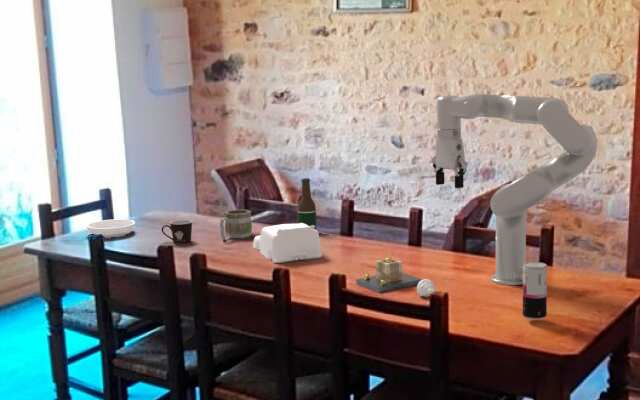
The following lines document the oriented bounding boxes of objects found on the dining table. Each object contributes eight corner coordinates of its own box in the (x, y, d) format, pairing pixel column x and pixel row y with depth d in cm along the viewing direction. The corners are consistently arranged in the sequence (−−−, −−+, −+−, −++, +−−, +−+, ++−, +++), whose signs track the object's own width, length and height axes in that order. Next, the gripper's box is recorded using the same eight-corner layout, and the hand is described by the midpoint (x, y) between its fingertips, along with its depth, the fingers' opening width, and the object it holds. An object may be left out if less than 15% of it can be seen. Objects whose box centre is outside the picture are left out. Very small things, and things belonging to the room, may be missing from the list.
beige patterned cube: (402, 279, 294) (401, 261, 293) (387, 282, 291) (386, 264, 290) (391, 275, 299) (391, 258, 298) (376, 278, 296) (376, 260, 295)
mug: (237, 237, 375) (236, 208, 372) (258, 239, 368) (256, 210, 366) (211, 244, 362) (210, 215, 360) (232, 247, 356) (230, 217, 354)
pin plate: (422, 283, 294) (422, 258, 292) (379, 292, 285) (378, 266, 284) (398, 275, 305) (398, 250, 303) (356, 284, 296) (355, 258, 295)
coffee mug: (198, 245, 361) (196, 221, 359) (183, 250, 354) (182, 225, 352) (175, 243, 367) (174, 218, 365) (161, 247, 360) (159, 222, 358)
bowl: (130, 245, 366) (129, 227, 365) (82, 246, 367) (81, 229, 365) (140, 235, 385) (139, 218, 384) (94, 236, 386) (93, 219, 385)
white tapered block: (274, 267, 323) (273, 230, 320) (251, 250, 350) (249, 216, 348) (325, 261, 329) (323, 225, 327) (297, 245, 357) (296, 211, 355)
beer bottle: (303, 239, 366) (301, 180, 361) (294, 236, 372) (292, 178, 368) (320, 237, 369) (318, 178, 365) (311, 234, 376) (309, 176, 372)
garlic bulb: (425, 301, 274) (425, 283, 273) (415, 296, 280) (415, 279, 279) (441, 298, 276) (440, 281, 276) (431, 294, 282) (430, 277, 281)
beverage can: (521, 318, 254) (521, 266, 252) (524, 312, 260) (524, 261, 258) (544, 320, 252) (545, 268, 249) (547, 313, 258) (548, 262, 255)
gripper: (475, 135, 289) (475, 188, 292) (441, 131, 304) (441, 181, 307) (457, 136, 285) (457, 190, 288) (423, 133, 300) (424, 184, 303)
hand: (449, 186), depth 297 cm, fingers open, 9 cm apart
